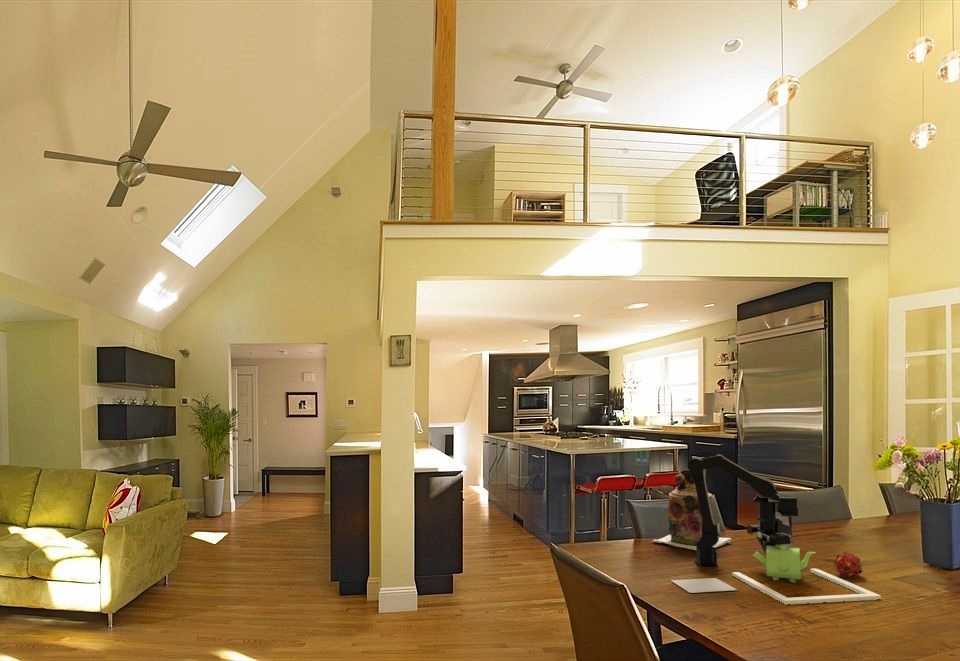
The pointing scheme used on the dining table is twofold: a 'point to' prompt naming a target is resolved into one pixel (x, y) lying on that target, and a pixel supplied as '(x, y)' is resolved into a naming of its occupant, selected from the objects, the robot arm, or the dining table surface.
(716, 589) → the paper stack
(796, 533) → the dining table surface
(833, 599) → the kettle dock outline
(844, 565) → the dragon fruit
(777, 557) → the kettle
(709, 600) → the dining table surface
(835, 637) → the dining table surface
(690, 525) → the cookie jar
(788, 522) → the coffee box
